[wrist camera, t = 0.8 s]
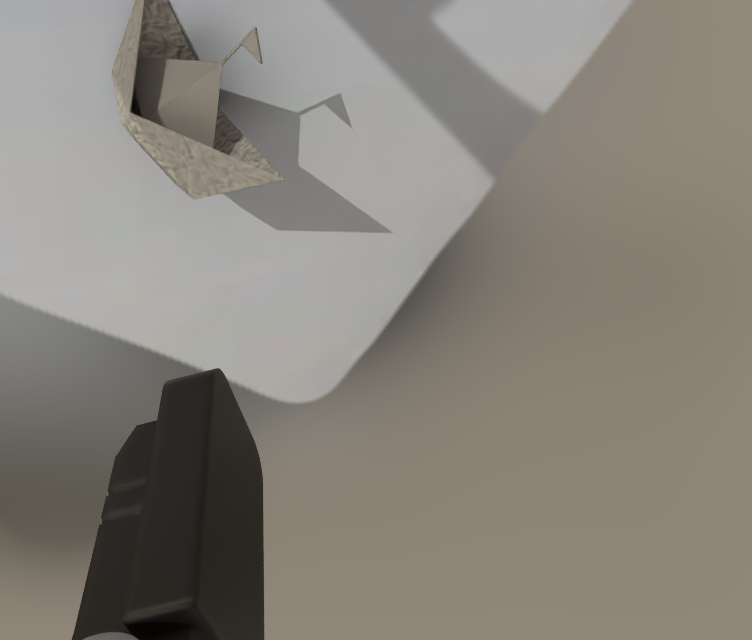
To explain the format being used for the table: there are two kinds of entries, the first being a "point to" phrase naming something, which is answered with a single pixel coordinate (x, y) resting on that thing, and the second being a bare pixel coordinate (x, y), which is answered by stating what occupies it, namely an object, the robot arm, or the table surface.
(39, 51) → the table surface
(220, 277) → the table surface
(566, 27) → the table surface
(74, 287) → the table surface
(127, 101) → the paper boat
